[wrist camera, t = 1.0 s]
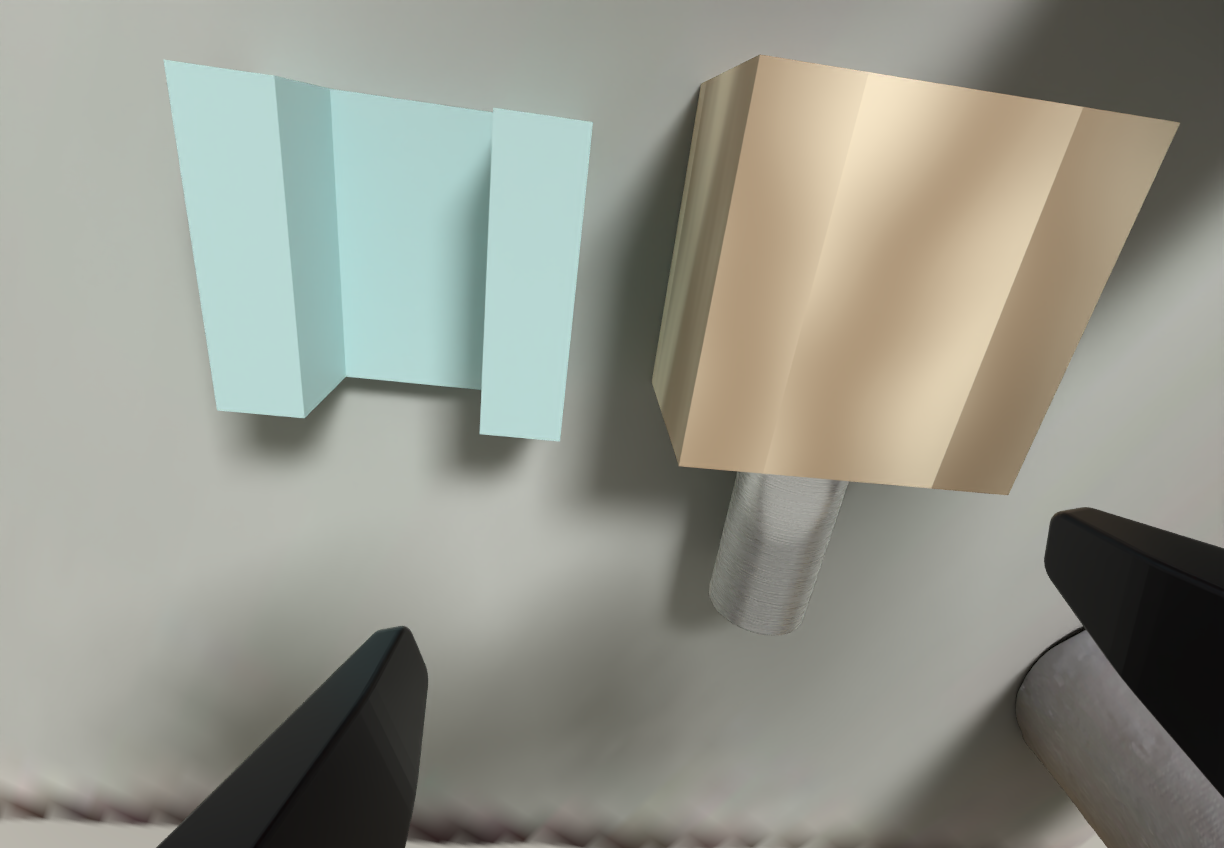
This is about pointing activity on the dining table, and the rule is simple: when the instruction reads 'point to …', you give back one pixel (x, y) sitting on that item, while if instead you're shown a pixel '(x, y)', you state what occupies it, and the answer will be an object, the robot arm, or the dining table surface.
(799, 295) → the open beige box
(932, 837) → the dining table surface
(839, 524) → the dining table surface
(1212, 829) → the pillar candle
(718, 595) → the axle
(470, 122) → the cradle
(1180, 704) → the robot arm
